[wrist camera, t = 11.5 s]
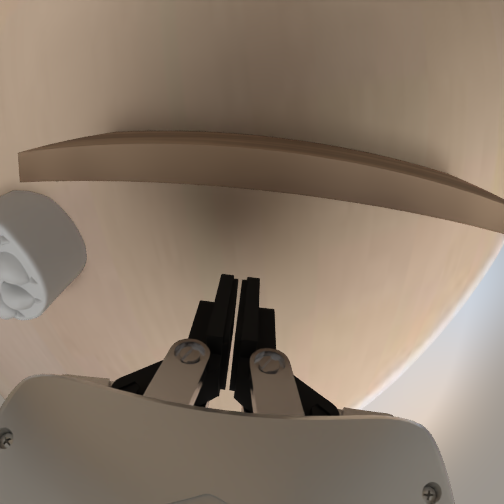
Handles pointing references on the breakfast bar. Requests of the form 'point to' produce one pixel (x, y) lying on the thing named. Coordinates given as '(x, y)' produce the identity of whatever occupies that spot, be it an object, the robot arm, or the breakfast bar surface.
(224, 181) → the wooden panel
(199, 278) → the breakfast bar surface
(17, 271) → the lumpy-topped squat cylinder
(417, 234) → the breakfast bar surface
